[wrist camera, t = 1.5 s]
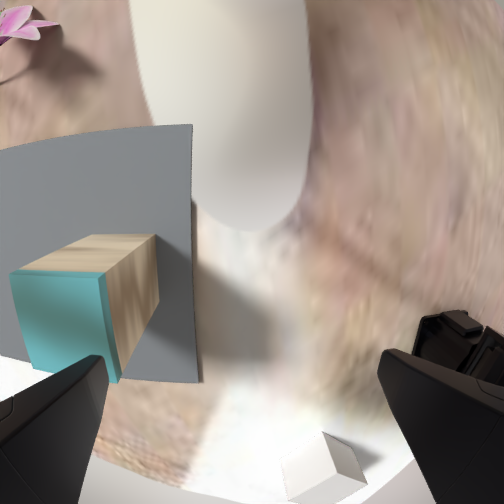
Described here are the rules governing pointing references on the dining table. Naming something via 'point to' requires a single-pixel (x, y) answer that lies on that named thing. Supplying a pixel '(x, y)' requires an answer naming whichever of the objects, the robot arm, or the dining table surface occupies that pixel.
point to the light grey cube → (321, 472)
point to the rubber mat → (106, 226)
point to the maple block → (87, 301)
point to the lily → (20, 24)
